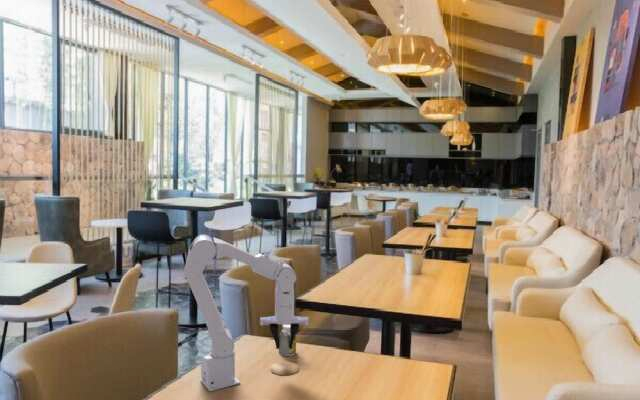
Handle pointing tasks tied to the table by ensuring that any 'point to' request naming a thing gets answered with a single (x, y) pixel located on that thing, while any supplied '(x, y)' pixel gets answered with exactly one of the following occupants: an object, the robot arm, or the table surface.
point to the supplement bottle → (293, 350)
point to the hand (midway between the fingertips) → (284, 347)
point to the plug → (284, 343)
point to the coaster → (284, 368)
